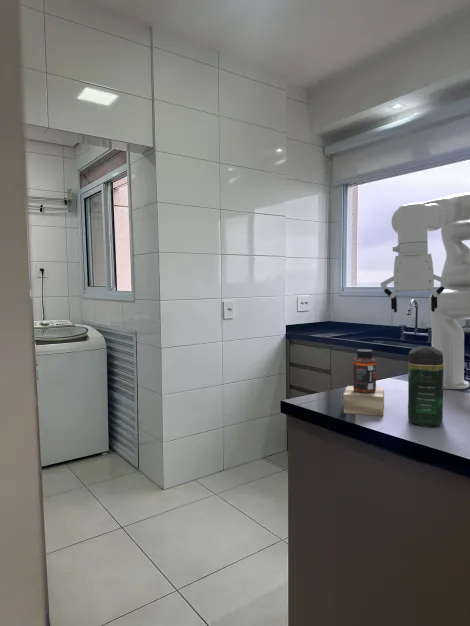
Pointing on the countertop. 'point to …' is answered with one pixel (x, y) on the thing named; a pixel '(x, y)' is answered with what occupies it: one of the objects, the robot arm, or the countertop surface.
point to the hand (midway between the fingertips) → (413, 311)
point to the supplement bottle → (364, 372)
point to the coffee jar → (425, 386)
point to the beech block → (364, 402)
